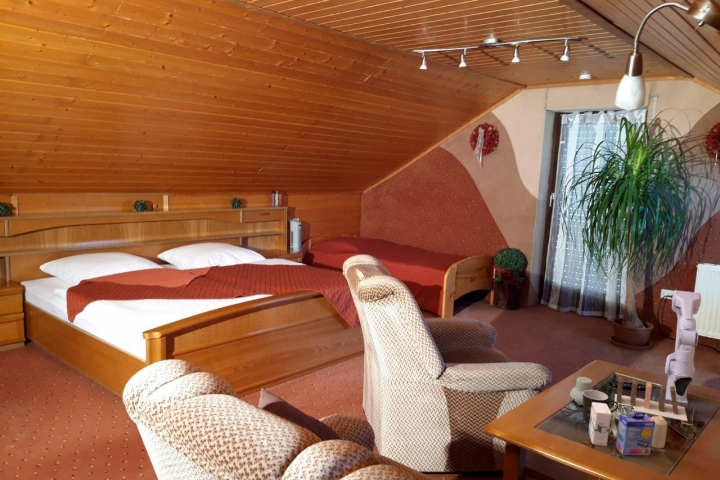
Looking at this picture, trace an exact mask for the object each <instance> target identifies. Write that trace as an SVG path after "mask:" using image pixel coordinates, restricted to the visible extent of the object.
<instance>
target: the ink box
mask: <svg viewBox="0 0 720 480" xmlns="http://www.w3.org/2000/svg"><path fill="white" fill-rule="evenodd" d="M610 411H611V410H610V408H609V406H608V405H607V404H604V403H596V402H592V407H591V415H590V423H588V431H587V433H588V437H589V438H590V441H591V443H592V445H596V446H602V447H607V446H608V439H609V434H610V433H609V432H610V427H611V420H612V419H611V418H612V413H611V412H610Z"/></svg>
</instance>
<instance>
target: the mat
mask: <svg viewBox="0 0 720 480" xmlns="http://www.w3.org/2000/svg"><path fill="white" fill-rule="evenodd" d="M630 399H631V396H628V395H623V394H622V398H621V404H622V405H630ZM614 401H616V402H617V393H614ZM644 401H645V398H644V399H643V398H640V397H639V398H638V397H636V401H635V406H633V408H634V410H635V412H638V413H646V414H650V415H653V416H657V415H660V416H662V417H663V418H664V417H665V418H671V419H675V420H679V421H680V420H681V421H684V422H688V418H687V413H686V412H687V411H686V408H685V406H680V405H677V407H678V414H674V413H673V407H672V403H671V404H669V403H665V405H664V412H661V411H659V407H658V405H659V401H653V400H650V405H649V409H645V408H644ZM613 403H614V402H613ZM619 404H620V403H618V405H619ZM615 405H616V403H614V405H613V406H615ZM634 410H633V411H634Z"/></svg>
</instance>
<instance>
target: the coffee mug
mask: <svg viewBox="0 0 720 480" xmlns="http://www.w3.org/2000/svg"><path fill="white" fill-rule="evenodd" d="M592 402H596V403H604V404H607V406H608V405H609V404H610V403H616V405H617V407H615V408H614V409H613V410H610V412H611V414H613V413H614V412H615V411H617V410H618V408H619V407H618V403H617V402H616V401H615V400H609V396H608V394H606V393H605V392H603V391H600V390H595V389H592V390H585V391H583V406H582V408H583V409H582V410H583V415H582V416H583V421H584V420H585V422H586V423H588V424H589V423H590V415H591V407H592Z"/></svg>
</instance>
